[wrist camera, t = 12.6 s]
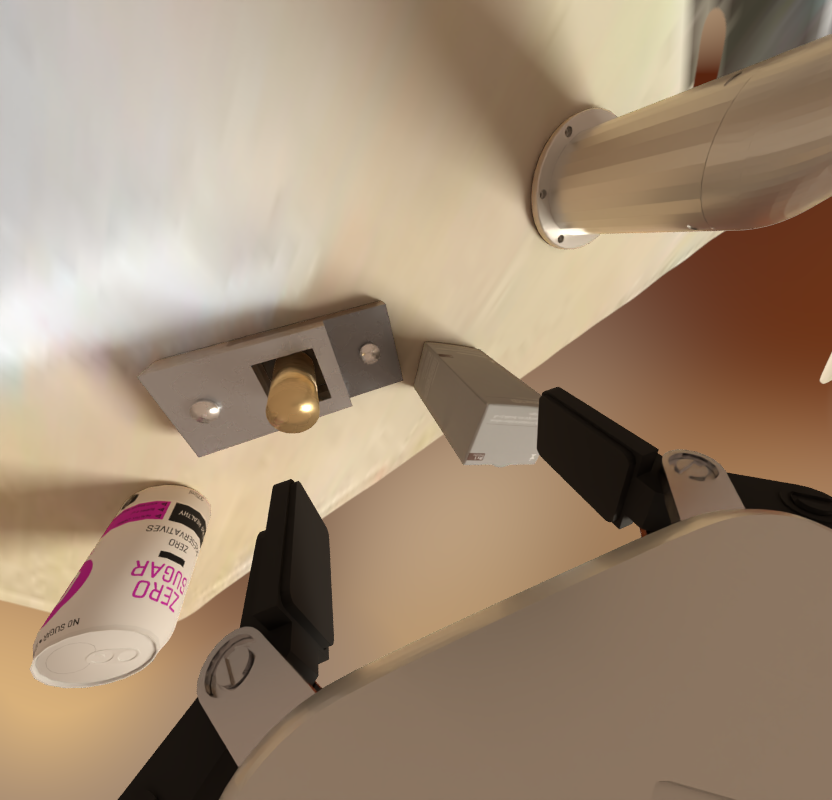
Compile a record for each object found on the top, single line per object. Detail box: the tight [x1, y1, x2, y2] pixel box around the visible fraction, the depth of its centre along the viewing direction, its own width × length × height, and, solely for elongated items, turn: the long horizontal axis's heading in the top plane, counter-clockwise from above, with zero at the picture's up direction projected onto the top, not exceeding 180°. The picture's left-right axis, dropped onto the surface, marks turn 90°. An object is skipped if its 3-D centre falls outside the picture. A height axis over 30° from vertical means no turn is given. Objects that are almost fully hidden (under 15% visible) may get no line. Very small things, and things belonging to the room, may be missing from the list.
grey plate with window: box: [137, 301, 403, 457], centre depth 30 cm, size 22×9×5 cm, turn 101°
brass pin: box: [266, 351, 320, 433], centre depth 28 cm, size 4×4×10 cm
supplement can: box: [30, 485, 211, 688], centre depth 28 cm, size 8×8×15 cm
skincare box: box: [414, 342, 541, 467], centre depth 32 cm, size 8×7×16 cm
